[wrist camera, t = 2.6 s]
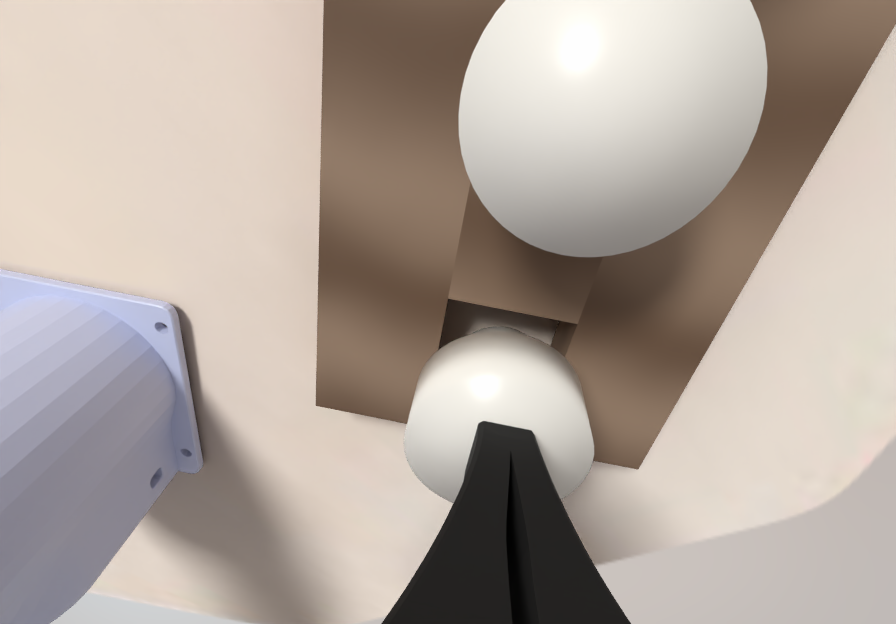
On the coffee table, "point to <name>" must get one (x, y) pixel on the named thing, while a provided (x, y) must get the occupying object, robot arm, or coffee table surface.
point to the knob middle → (609, 116)
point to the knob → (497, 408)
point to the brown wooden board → (517, 262)
